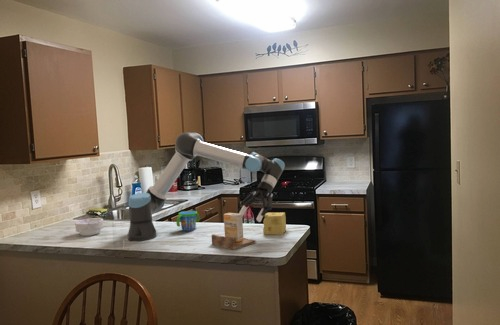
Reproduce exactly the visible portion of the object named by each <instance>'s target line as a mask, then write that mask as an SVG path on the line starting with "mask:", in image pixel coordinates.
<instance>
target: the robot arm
mask: <svg viewBox="0 0 500 325" xmlns="http://www.w3.org/2000/svg"><path fill="white" fill-rule="evenodd" d="M174 142H175V143H174V145H175V148H174V149H175V153H174V155H172V157H171V159H170V161H169V162H168V164H167V165H166V166H165V168H164V169H163V171H162V173H160V175H159V177H158V178H157V180H156V181H155V183H154V184H153V185H152V186H149V187H148V189H147V190H146V192H139V193H135V194H132V195H130V196H129V198H128V213H129V215H128V216H129V224H130V225H129V229H128V232H127V239H128V240H129V241H132V242H133V241H135V242H136V241H146V240H151V239H154V238H156V237H157V235H158V234H157V230H156V227H155V225H154V223H153V214H155V213H157V212H159V211H161V209H163V208H164V206H165V203H166V200H167V198H168V196H167V193H168V192H169V191H170V189H171V188H172V186H173V185H174V183H175V182H176V181H177V179H178V178H179V176H180V174H181V173H182V172H183V170H184V168H185V167H186V166H187V164H188V163H189V161H190V162H191V161H193V160H194V158H196V157H198V156H199V157H202V158H206V159H208V160H209V159H210V160H213V161H217V162H220V163H223V164H228V165H231V166H234V167H237V168H241V169H245V170H247V171H248V172H251V173H255V172H256V173H257V172H259V171H260V172H263V173H264V175H263V176H262V178H261V181H260V182H259V184H258V186H257V190H256V191H255V189H254V190H251V192H250V194H249V195H247V196H246V197H245V198H244V199H243V200H242V201H241V202H240V204H241V208H240V210H239V213H238V214H242V218H243V217H244V216H245V214H246V212H247V210H248V207H249V206H251V205H252V204H254V203H255V202H258V201H261V202H262V205H263V207H261V208H260V209H261V210H260V211H259V212H258V215H257V217H256V218H255V219H256V221H257V222H258V223H261V222H262V219H263V218H264V217H265V214H266V213H268V211H272V209H273V208H272V207H273V206H272V205H273V197H274V194H273V193H272V192H273V190H274V188H275V186H276V185H277V183H278V181H279V179H280V177H281V175H282V173H283V172H284V170H285V168H286V166H285V165H286V164H285V162H284V161H283V160H282V159H280V158H273V159H271V160H270V159H268V158H267V157H265V156H263V155H261V154H259V153H257V152H255V151H252V152H251V153H250V154H248V153H245V152H241V151H237V150H233V149H231V148H230V149H229V148H226V147H223V146H218V145H215V144H212V143H210V142H209V143H208V142H205V141H204V138H203V137H202V135H201V134H199V133H197V132H193V131H191V132H182V133H180V134H179V135H178V136H177V137H176V139H175V141H174Z"/></svg>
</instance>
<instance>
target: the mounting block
mask: <svg viewBox="0 0 500 325" xmlns="http://www.w3.org/2000/svg"><path fill="white" fill-rule="evenodd" d="M243 238H244V240H242V241H240V242H236V239H233V238H229V237H225V235H224V236H223V235H218V234H215V233H214V234H213V233H212V234H211V245H214V246H215V247H221V248H226V249H230V250H233V251H235V250H238V249H241V248H244V247H248V246H250V245H253V244H256V240H255V239H252V238H251V239H250V238H245V237H243Z"/></svg>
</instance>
